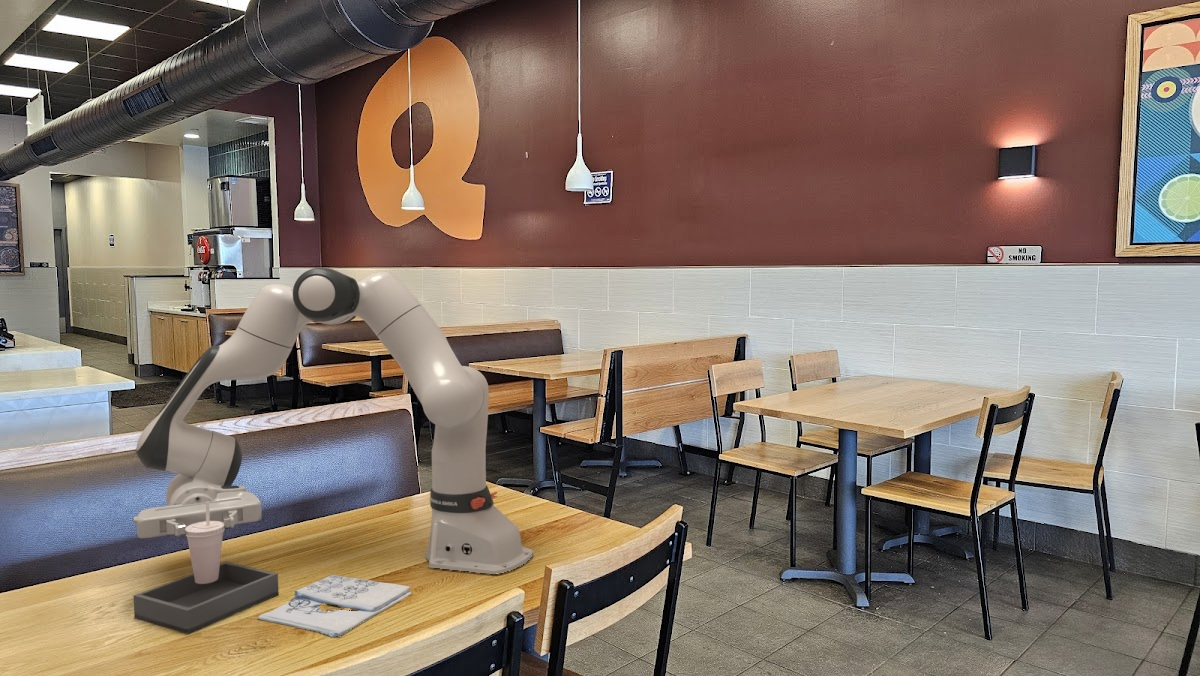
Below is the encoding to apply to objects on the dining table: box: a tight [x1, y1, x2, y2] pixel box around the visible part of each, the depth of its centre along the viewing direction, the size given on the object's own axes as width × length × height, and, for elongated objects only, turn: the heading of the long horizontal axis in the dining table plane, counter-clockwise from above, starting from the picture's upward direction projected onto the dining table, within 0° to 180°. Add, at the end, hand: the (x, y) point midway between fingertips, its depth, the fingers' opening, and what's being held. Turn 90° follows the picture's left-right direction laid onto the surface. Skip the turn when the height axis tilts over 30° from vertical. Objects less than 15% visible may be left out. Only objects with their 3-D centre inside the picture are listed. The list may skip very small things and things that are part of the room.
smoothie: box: [184, 502, 226, 584], centre depth 138 cm, size 6×6×14 cm
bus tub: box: [132, 561, 280, 635], centre depth 139 cm, size 14×18×4 cm
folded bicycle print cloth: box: [257, 574, 413, 638], centre depth 139 cm, size 19×20×2 cm
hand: (205, 527), depth 137 cm, fingers closed on smoothie, 6 cm apart
